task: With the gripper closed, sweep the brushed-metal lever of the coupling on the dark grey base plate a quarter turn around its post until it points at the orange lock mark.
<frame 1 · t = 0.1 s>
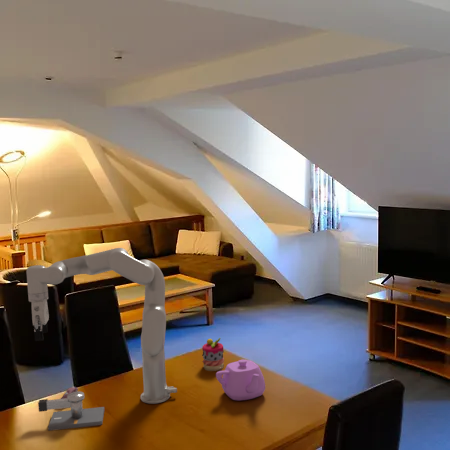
hand: (41, 336, 207), 31 cm above the table, tool pointing down, fingers open, 9 cm apart
coupling: (62, 406, 199), point 6 cm above the table, hinge at 0.0°
video game controller: (68, 401, 217), on the table
base plate: (77, 420, 201), on the table
teapot: (244, 395, 218), on the table
cake: (213, 367, 249), on the table
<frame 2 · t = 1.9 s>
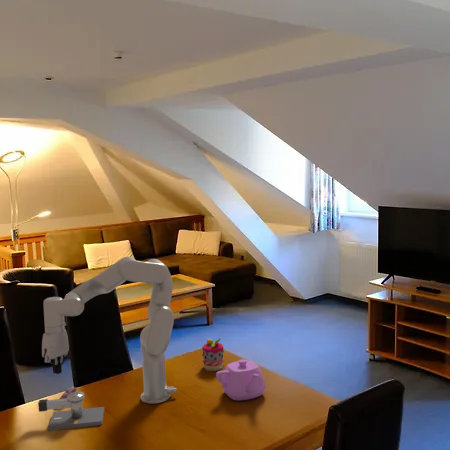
hand: (57, 372, 203), 18 cm above the table, tool pointing down, fingers closed
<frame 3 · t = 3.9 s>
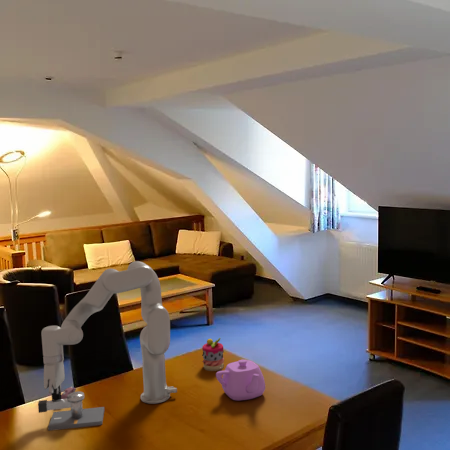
hand: (56, 402, 201), 7 cm above the table, tool pointing down, fingers closed
coupling: (62, 407, 199), point 6 cm above the table, hinge at 3.3°, touching gripper
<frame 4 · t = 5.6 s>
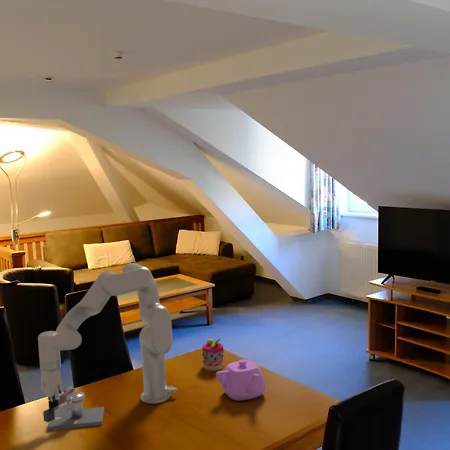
hand: (53, 409, 195), 7 cm above the table, tool pointing down, fingers closed
coupling: (65, 411, 195), point 6 cm above the table, hinge at 45.8°, touching gripper
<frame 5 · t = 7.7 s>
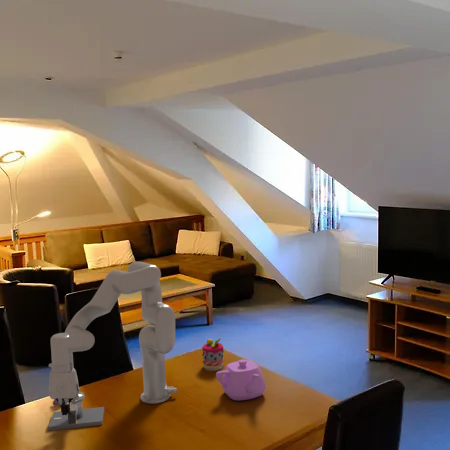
hand: (65, 413, 191), 7 cm above the table, tool pointing down, fingers closed
coupling: (74, 411, 195), point 6 cm above the table, hinge at 91.0°, touching gripper
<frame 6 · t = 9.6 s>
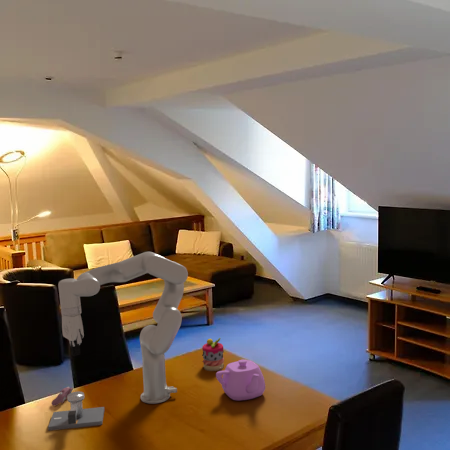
hand: (76, 354, 201), 26 cm above the table, tool pointing down, fingers closed
coupling: (74, 411, 195), point 6 cm above the table, hinge at 90.9°
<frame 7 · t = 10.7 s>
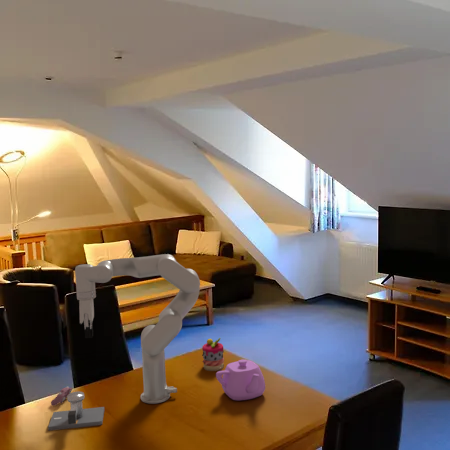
hand: (89, 337, 211), 29 cm above the table, tool pointing down, fingers closed
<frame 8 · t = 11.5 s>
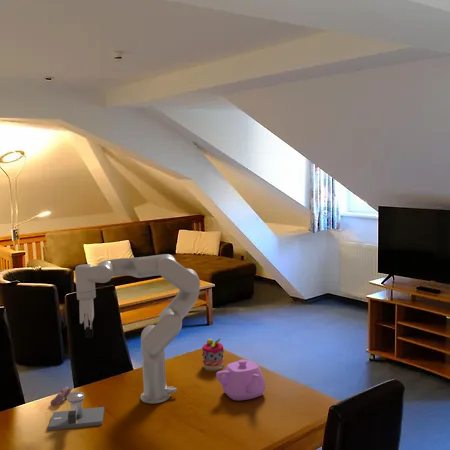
hand: (89, 337, 211), 29 cm above the table, tool pointing down, fingers closed
at the end: coupling at +91° (first picture: +0°); video game controller moved 2.9 cm from its start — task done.
